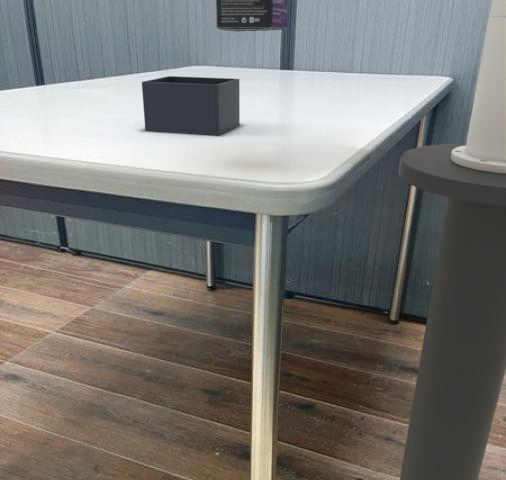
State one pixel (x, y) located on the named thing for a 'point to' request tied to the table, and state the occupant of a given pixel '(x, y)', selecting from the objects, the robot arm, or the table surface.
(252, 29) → the box
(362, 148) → the table surface
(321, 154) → the table surface
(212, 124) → the box
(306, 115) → the table surface
